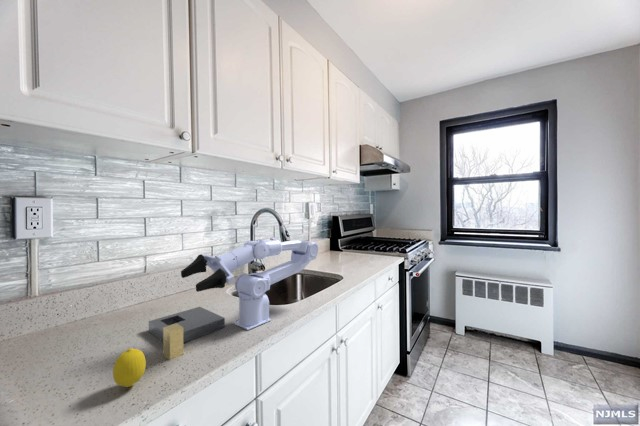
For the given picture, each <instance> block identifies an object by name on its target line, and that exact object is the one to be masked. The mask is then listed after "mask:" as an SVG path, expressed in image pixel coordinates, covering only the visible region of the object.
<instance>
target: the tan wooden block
mask: <svg viewBox="0 0 640 426" xmlns="http://www.w3.org/2000/svg"><path fill="white" fill-rule="evenodd" d="M162 343H163V344H162V345H163V348H162V349H163V356H164V357H166V358H167V359H168V360H169V361H171V360H173V359H176V358H178V357H181V356H183V355H184V343H183V327H182V326H180V325H179V324H177V323H176V324H173V325H170V326H166V327H163V342H162Z"/></svg>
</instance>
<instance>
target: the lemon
mask: <svg viewBox="0 0 640 426" xmlns="http://www.w3.org/2000/svg"><path fill="white" fill-rule="evenodd" d="M146 365H147V362H146V357H145V354H144V352H143V351H142V350H140V349H138V348H132V347H131V348H130V347H129V348H127V350H125V351H123V352H122V353H121V354H120V355H119V356H118V357H117V358H116V359H115V363H114V364H113V369H112V377H113V380H114V382H115V384H116V385H118V386H120V387H126V388H131V387H133V385H134V384H136V383H137V382H139V381H140V379H141V378H142V377H143V375H144V374H145V371H146Z"/></svg>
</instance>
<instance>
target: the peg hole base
mask: <svg viewBox="0 0 640 426" xmlns="http://www.w3.org/2000/svg"><path fill="white" fill-rule="evenodd" d="M225 319H226V318H225V317H224V316H221V315H219V314H217V313H214V312H212V311H210V310H208V309H206V308H204V307H201V306H197V307H193V308H190V309H186V310H184V311H180V312H177V313H172V314H169V315H166V316H163V317H160V318H156V319H151V320H149V321H148V332H149V333H150V334H152V335H153V336H154V337H156V338H157V339H159V340H160V341H161V342H162V343H163V327H166V326H170V325H173V324H176V323H177V324H179V325H180V326H182V327H183V344H184V343H186V342H187V343H188V342H189V341H192V340H195V339H197V338H199V337H200V338H201V337H203V336H205V335H208V334H210V333H213V332H216V331H219V330H221V329H224V328H225V327H226V326H225V321H226V320H225Z"/></svg>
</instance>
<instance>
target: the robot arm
mask: <svg viewBox="0 0 640 426" xmlns="http://www.w3.org/2000/svg"><path fill="white" fill-rule="evenodd" d="M284 251H285V252H287V251H291V255H290V260H288V261H286V262H284V263H281V264H278V265H276V266H274V267H272V268H269V269H266V270H264V271H262V272H261V271H260V272H252V273H250V274H247V273H242V274H240V275H239V276H238V277H237V278H236V279H235V275H234V274H233V273H232V272H234V271H235V270H237V269H239V268H241V267H243V266H245V265H248V264H250V263H252V261H255V260H264V259H265V258H266V257H268V258H269V257H273V256H274V257H275V256H278V255H280V254H281V253H282V252H284ZM318 252H319V246H318V244H317V242H315V241H307V240H297V239H292V240H287V241H280V240H278V239H277V238H276V237H270V238H269V239H267V240H265V239H262V238H261V239H259V241H256V240H247V241H246V242H245V243H244V244H243V246H240V247H238V248H236V249H233V250H231V251H229V252H227V253H224V254H222V255H218V254H216V255H215V256H213V255H209V254H207V253H204V254H198V256H197V257H196V258H195V259H194V260H192V262H191V263H190V264H189V265H187V266H186V267H185V268H183V269H181V270H180V277H181V278H182V279H185V278H187V277H191V276H192V275H196V274H200V273H206V272H207V267H208V268H210V269H211V270H212V272H213V273H212V274H211V275H209V276H208V277H206V278H204V279H202V280H201V281H199V282H197V283H196V284H195V291H196V292H201V291H207V290H211V289H224V288H225V287H226V284H227V285H230V284H232V283H234V282H235V283H234V288H235V290H236V292H238V293H237V294H238V297H239V298H238V302H239V303H238V320H236V321H233V324H234V325H236V326H238V327H240V328H241V329H244V330H247V331H249V330H252V329H254V328H257V327H259V326H261V325H264V324H265V323H268V322H270V321H271V320H272V319H271V318H270V300H269V299H270V298H269V297H268V295H267V294H266V292H267V291H270V289H271V285H273V284H275V283H278V282H280V281H282V280H284V279H286V278H288V277H291V276H293V275H295V274H297V273H299V272H302V271H303V270H304V269H305V268H306V267H307V266H308V265H309V264H310V263H311V261H313V260H315V259H317V256H318Z"/></svg>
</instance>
